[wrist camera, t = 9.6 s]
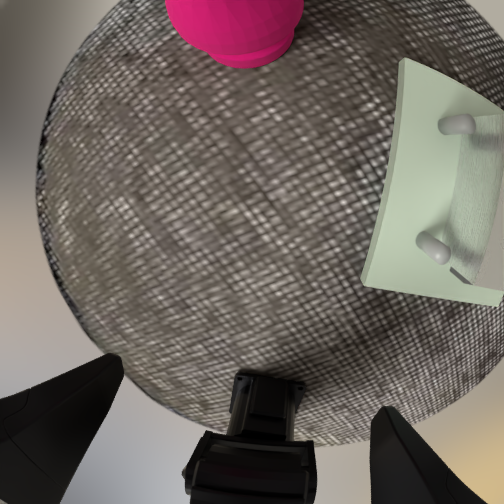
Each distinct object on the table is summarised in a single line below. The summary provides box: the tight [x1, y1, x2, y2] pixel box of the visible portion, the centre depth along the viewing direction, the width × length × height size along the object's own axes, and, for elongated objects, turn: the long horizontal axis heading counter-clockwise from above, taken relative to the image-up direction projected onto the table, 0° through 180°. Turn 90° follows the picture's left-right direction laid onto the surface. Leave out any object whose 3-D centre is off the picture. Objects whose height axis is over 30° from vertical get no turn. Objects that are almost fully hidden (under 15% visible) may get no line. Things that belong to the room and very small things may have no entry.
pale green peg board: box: [360, 57, 504, 307], centre depth 13 cm, size 16×15×4 cm
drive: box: [441, 114, 504, 291], centre depth 12 cm, size 10×5×5 cm, turn 172°
